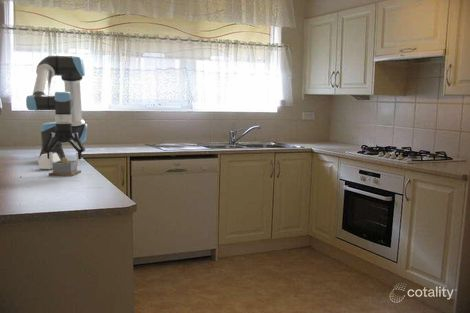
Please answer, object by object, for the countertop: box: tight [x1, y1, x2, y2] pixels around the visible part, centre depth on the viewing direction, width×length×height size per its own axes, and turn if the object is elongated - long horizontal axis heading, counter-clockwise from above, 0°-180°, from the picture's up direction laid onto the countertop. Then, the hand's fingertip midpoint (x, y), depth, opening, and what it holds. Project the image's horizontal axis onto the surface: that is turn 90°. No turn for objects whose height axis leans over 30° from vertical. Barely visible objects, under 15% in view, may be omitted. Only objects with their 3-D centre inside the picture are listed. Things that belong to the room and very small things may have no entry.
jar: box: [36, 152, 62, 170], centre depth 270 cm, size 9×8×12 cm
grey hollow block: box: [52, 160, 78, 173], centre depth 249 cm, size 9×9×5 cm
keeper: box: [48, 157, 82, 177], centre depth 249 cm, size 12×12×8 cm
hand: (64, 165), depth 249 cm, fingers open, 13 cm apart
